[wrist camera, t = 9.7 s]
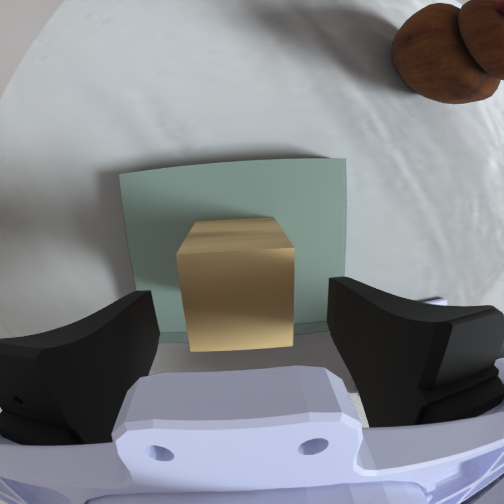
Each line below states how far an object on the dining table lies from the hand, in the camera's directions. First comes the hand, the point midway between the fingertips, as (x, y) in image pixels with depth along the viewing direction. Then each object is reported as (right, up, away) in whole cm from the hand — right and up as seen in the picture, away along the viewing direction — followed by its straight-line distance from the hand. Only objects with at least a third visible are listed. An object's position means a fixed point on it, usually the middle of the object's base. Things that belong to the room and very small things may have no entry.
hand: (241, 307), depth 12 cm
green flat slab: (-1, +3, +9) cm, 9 cm away
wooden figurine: (+13, +16, +5) cm, 21 cm away
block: (0, +2, +6) cm, 6 cm away
